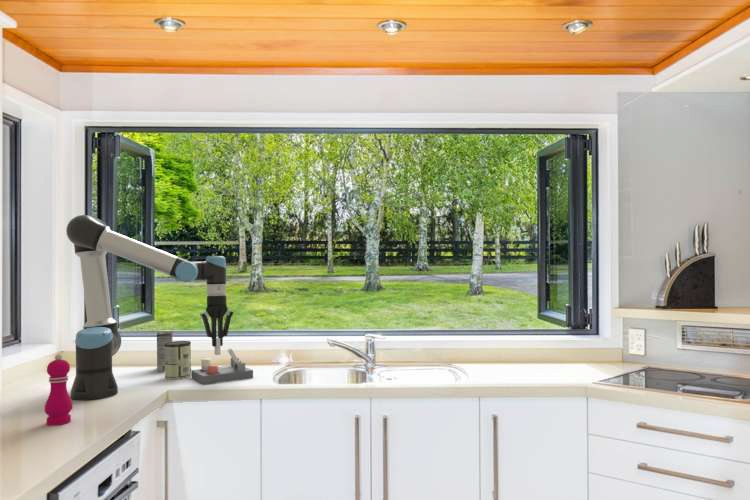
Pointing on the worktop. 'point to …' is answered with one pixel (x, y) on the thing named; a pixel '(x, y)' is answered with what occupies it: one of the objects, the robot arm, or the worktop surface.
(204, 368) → the button ivory
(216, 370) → the button red
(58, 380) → the pepper mill
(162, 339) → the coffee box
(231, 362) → the slider knob
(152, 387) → the worktop surface
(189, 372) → the coffee can
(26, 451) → the worktop surface
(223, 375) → the panel
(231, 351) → the lever
